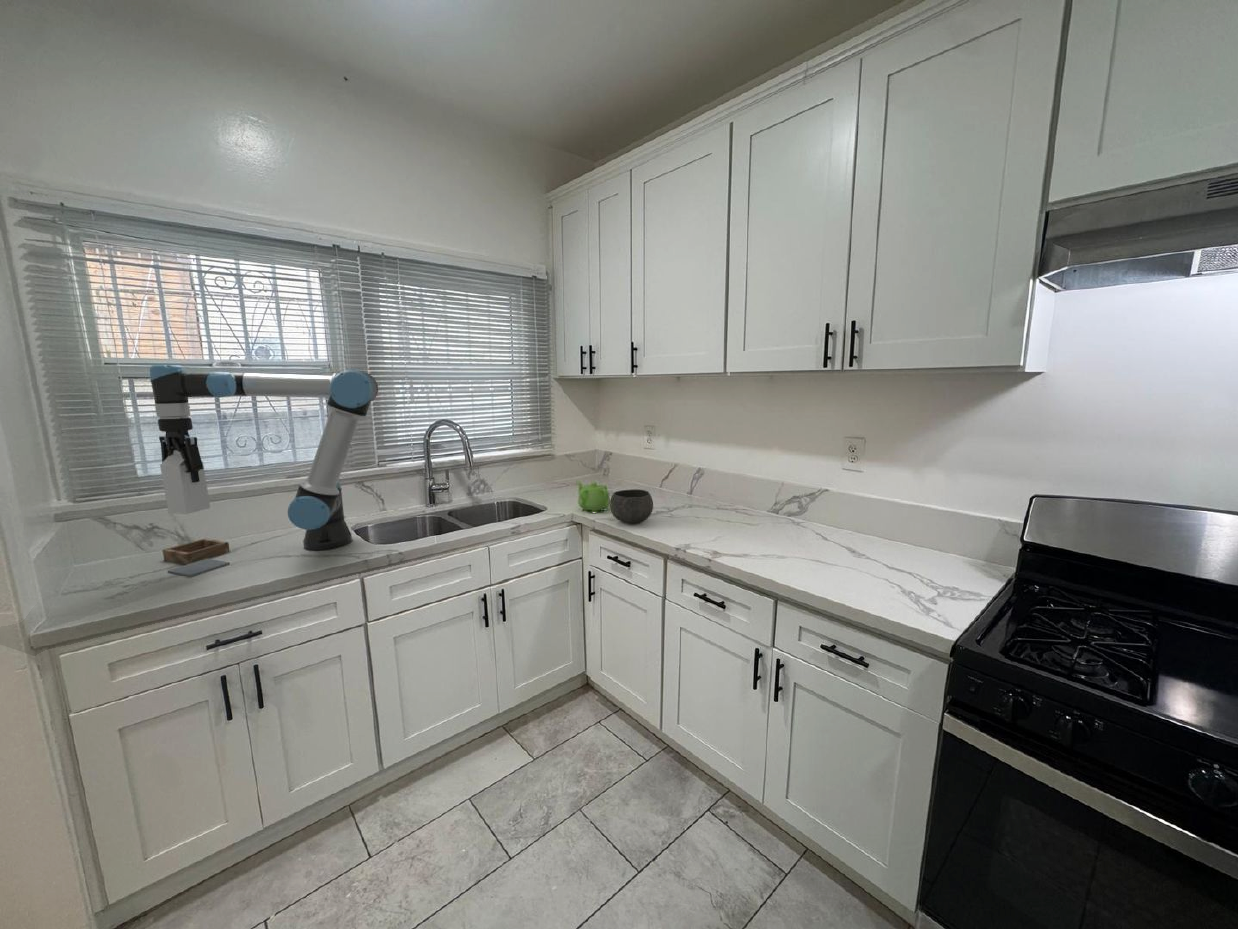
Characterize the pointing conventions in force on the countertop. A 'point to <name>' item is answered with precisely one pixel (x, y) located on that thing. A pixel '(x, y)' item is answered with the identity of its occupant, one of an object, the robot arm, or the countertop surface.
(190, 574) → the slate mat
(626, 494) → the bowl
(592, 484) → the teapot
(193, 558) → the ring frame
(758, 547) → the countertop surface
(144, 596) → the countertop surface
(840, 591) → the countertop surface
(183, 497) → the milk carton
